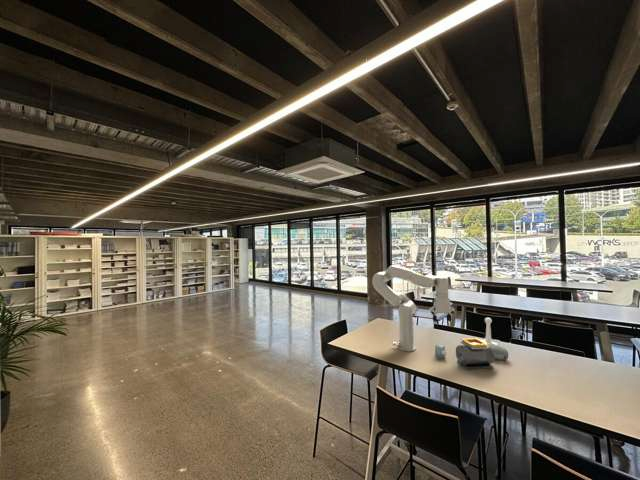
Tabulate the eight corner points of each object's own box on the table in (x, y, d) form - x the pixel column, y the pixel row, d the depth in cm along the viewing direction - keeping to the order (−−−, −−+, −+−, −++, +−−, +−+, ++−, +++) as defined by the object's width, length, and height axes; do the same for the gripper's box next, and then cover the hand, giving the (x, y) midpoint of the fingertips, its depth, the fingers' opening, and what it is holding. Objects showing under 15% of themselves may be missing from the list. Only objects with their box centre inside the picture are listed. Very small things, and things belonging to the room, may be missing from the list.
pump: (440, 360, 167) (440, 349, 167) (433, 354, 175) (433, 344, 176) (449, 360, 167) (449, 349, 167) (441, 354, 176) (441, 344, 176)
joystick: (498, 346, 190) (497, 318, 191) (495, 349, 185) (495, 320, 185) (481, 342, 198) (480, 315, 199) (477, 344, 193) (477, 317, 193)
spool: (511, 353, 169) (505, 341, 168) (510, 365, 163) (504, 352, 161) (487, 352, 179) (481, 341, 177) (485, 363, 172) (479, 351, 170)
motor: (467, 370, 154) (466, 345, 154) (455, 361, 165) (455, 338, 165) (497, 368, 155) (497, 344, 156) (484, 360, 166) (484, 337, 167)
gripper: (432, 296, 171) (432, 322, 171) (457, 296, 172) (457, 322, 172) (426, 294, 178) (426, 319, 178) (451, 294, 179) (451, 319, 179)
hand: (441, 321), depth 175 cm, fingers open, 9 cm apart
